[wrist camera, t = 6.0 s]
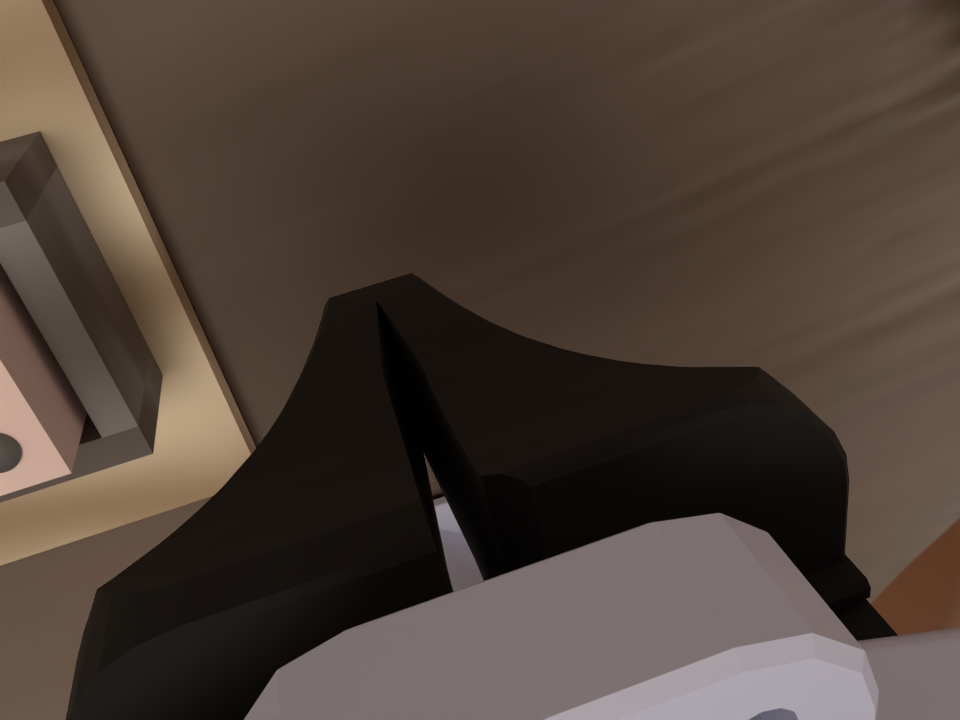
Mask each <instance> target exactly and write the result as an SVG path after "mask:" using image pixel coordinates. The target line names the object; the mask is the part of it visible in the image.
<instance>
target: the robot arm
mask: <svg viewBox="0 0 960 720" xmlns="http://www.w3.org/2000/svg"><path fill="white" fill-rule="evenodd" d="M423 452H424V453H423ZM424 454H425V456H426V458H427V460H428V462H429V465H430V467H431V469H432V471H433V473H434V475H435V477H436V479H437V481H438V483H439V486H440V488H441V490H442V492H443V494H444V497H441V498H438V499H435V500H433V496H432V491H431V487H430V482H429V477H428V472H427V467H426V463H425V458H424ZM848 492H849V475H848V466H847V457H846V453H845V451H844V449H843V447H842V446H841V444H840V442H839V440H838V438H837V436H836V434H835V432H834V431H833V430H832V429H831V428H830V427H828V426H827V425H826V424H825V423H824V422H823V421H822V420H821V419H820V418H819V417H818V416H817V415H815V414H814V413H813V412H812V411H811V410H810V409H809V408H808V407H807V406H806V405H805V404H804V403H803V402H802V401H801V400H800V399H798V398H797V397H796V396H795V395H794V394H793V393H792V392H791V391H789V390H788V389H787V388H786V387H784V386H783V385H782V384H780V383H779V382H778V381H776V380H775V379H774V378H773V377H771V376H770V375H769V374H767V373H766V372H765V371H763V370H762V369H761V368H759V367H674V366H662V365H649V364H639V363H631V362H624V361H617V360H611V359H606V358H601V357H596V356H591V355H585V354H580V353H576V352H572V351H568V350H564V349H561V348H557V347H554V346H551V345H548V344H545V343H542V342H538V341H535V340H532V339H529V338H526V337H524V336H521V335H519V334H516V333H514V332H511V331H509V330H507V329H505V328H502V327H500V326H498V325H496V324H493V323H491V322H489V321H487V320H485V319H483V318H482V317H480V316H478V315H476V314H475V313H473V312H471V311H469V310H467V309H466V308H464V307H462V306H461V305H459V304H457V303H456V302H454V301H452V300H451V299H449V298H448V297H446V296H445V295H443V294H442V293H440V292H439V291H437V290H436V289H434V288H433V287H431V286H430V285H429V284H427V283H426V282H425V281H423V280H422V279H421V278H419V277H417V276H415V275H413V274H412V273H410V274H407V275H403V276H400V277H397V278H394V279H390V280H387V281H384V282H381V283H377V284H374V285H371V286H368V287H364V288H361V289H358V290H354V291H351V292H348V293H345V294H341V295H338V296H335V297H332V298H329V300H328V302H327V303H326V305H325V307H324V311H323V315H322V319H321V323H320V326H319V329H318V332H317V335H316V338H315V341H314V344H313V346H312V349H311V351H310V354H309V356H308V359H307V361H306V364H305V366H304V369H303V371H302V373H301V375H300V377H299V379H298V381H297V383H296V385H295V387H294V389H293V391H292V393H291V395H290V397H289V399H288V401H287V403H286V405H285V406H284V408H283V410H282V412H281V413H280V415H279V417H278V418H277V420H276V422H275V423H274V425H273V426H272V427H271V429H270V430H269V432H268V433H267V435H266V436H265V437H264V439H263V440H262V442H261V443H260V444H259V445H258V447H257V448H256V449H255V450H254V452H253V453H252V454H251V455H250V456H249V457H248V458H247V460H246V461H245V462H244V463H243V464H242V465H241V466H240V468H239V469H238V470H237V471H236V472H235V473H234V474H233V476H232V477H231V478H230V479H229V480H228V481H227V482H226V484H225V485H224V486H223V487H222V488H221V489H220V490H219V491H218V492H217V493H216V494H215V495H214V496H213V497H212V498H211V499H210V500H209V501H208V502H207V503H206V504H205V505H204V506H203V507H202V508H201V509H199V510H198V511H197V512H196V513H195V514H194V515H193V516H192V517H191V518H189V519H188V520H187V521H186V522H185V523H184V524H183V525H181V526H180V527H179V528H178V529H177V530H176V531H175V532H173V533H172V534H171V535H170V536H169V537H167V538H166V539H165V540H164V541H162V542H161V543H160V544H159V545H157V546H156V547H155V548H153V549H152V550H151V551H149V552H148V553H147V554H145V555H144V556H143V557H141V558H140V559H139V560H137V561H136V562H134V563H133V564H132V565H130V566H129V567H128V568H126V569H125V570H124V571H122V572H121V573H120V574H118V575H117V576H116V577H114V578H113V579H112V580H110V581H109V582H107V583H106V584H104V585H103V586H101V587H100V588H98V589H97V591H96V595H95V598H94V602H93V605H92V608H91V611H90V614H89V618H88V621H87V624H86V627H85V630H84V633H83V637H82V641H81V645H80V650H79V654H78V658H77V663H76V668H75V673H74V679H73V684H72V689H71V695H70V700H69V706H68V711H67V716H66V720H960V628H955V629H947V630H939V631H931V632H923V633H915V634H908V635H900V636H898V635H897V634H896V633H895V631H894V630H893V629H892V628H891V627H890V626H889V625H888V624H887V622H886V621H885V620H884V619H883V618H882V617H881V616H880V614H879V613H878V612H877V611H876V610H875V609H874V608H873V607H872V605H871V604H870V603H869V602H868V601H867V600H866V598H869V597H870V590H871V587H870V585H869V583H868V580H867V578H866V577H865V576H864V575H863V574H862V573H861V571H860V570H859V569H858V568H857V567H856V566H855V565H854V564H853V563H852V562H851V560H850V559H849V558H848V557H847V556H846V555H845V543H846V526H847V509H848Z"/></svg>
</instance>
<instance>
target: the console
mask: <svg viewBox="0 0 960 720" xmlns="http://www.w3.org/2000/svg"><path fill="white" fill-rule="evenodd" d="M0 263H1V265H2V267H3V268H4V270H5V272H6V273H7V275H8V277H9V279H10V280H11V282H12V284H13V285H14V287H15V289H16V291H17V292H18V294H19V296H20V298H21V299H22V301H23V303H24V304H25V306H26V308H27V310H28V311H29V313H30V315H31V316H32V318H33V320H34V322H35V323H36V325H37V327H38V328H39V330H40V332H41V334H42V335H43V337H44V339H45V340H46V342H47V344H48V346H49V347H50V349H51V351H52V353H53V354H54V356H55V358H56V359H57V361H58V363H59V365H60V366H61V368H62V370H63V371H64V373H65V375H66V377H67V378H68V380H69V382H70V383H71V385H72V387H73V389H74V390H75V392H76V394H77V395H78V397H79V399H80V401H81V402H82V404H83V406H84V408H85V409H86V411H87V415H86V419H85V423H84V427H83V430H82V434H81V438H80V442H79V446H78V450H77V454H76V458H75V462H74V466H73V470H72V473H71V474H68V475H65V476H62V477H58V478H55V479H52V480H49V481H46V482H43V483H40V484H36V485H33V486H30V487H27V488H24V489H21V490H18V491H15V492H11V493H8V494H5V495H2V496H0V565H3V564H6V563H10V562H13V561H16V560H19V559H22V558H25V557H28V556H31V555H34V554H37V553H40V552H43V551H46V550H49V549H52V548H55V547H58V546H61V545H64V544H67V543H70V542H74V541H77V540H80V539H83V538H86V537H89V536H92V535H95V534H98V533H101V532H104V531H107V530H110V529H113V528H116V527H119V526H122V525H125V524H128V523H131V522H134V521H138V520H141V519H144V518H147V517H150V516H153V515H156V514H159V513H162V512H165V511H168V510H171V509H174V508H177V507H180V506H183V505H186V504H189V503H192V502H195V501H198V500H202V499H205V498H208V497H211V496H214V495H215V494H216V493H217V492H218V491H219V490H220V489H221V488H222V487H223V486H224V485H225V484H226V482H227V481H228V480H229V479H230V478H231V477H232V476H233V474H234V473H235V472H236V471H237V470H238V469H239V468H240V466H241V465H242V464H243V463H244V462H245V461H246V460H247V458H248V457H249V456H250V455H251V454H252V453H253V452H254V450H255V449H256V446H255V444H254V442H253V440H252V438H251V435H250V433H249V431H248V429H247V427H246V424H245V422H244V420H243V418H242V416H241V413H240V411H239V409H238V407H237V404H236V402H235V400H234V398H233V396H232V393H231V391H230V389H229V387H228V385H227V382H226V380H225V378H224V376H223V374H222V371H221V369H220V367H219V365H218V363H217V360H216V358H215V356H214V354H213V352H212V349H211V347H210V345H209V343H208V341H207V338H206V336H205V334H204V332H203V330H202V327H201V325H200V323H199V321H198V319H197V316H196V314H195V312H194V310H193V308H192V305H191V303H190V301H189V299H188V297H187V294H186V292H185V290H184V288H183V286H182V283H181V281H180V279H179V277H178V275H177V272H176V270H175V268H174V266H173V264H172V261H171V259H170V257H169V255H168V253H167V250H166V248H165V246H164V244H163V242H162V239H161V237H160V235H159V233H158V231H157V228H156V226H155V224H154V222H153V220H152V217H151V215H150V213H149V211H148V208H147V206H146V204H145V202H144V200H143V197H142V195H141V193H140V191H139V189H138V186H137V184H136V182H135V180H134V178H133V175H132V173H131V171H130V169H129V167H128V164H127V162H126V160H125V158H124V156H123V153H122V151H121V149H120V147H119V145H118V142H117V140H116V138H115V136H114V134H113V131H112V129H111V127H110V125H109V123H108V120H107V118H106V116H105V114H104V112H103V109H102V107H101V105H100V103H99V101H98V98H97V96H96V94H95V92H94V90H93V87H92V85H91V83H90V81H89V79H88V76H87V74H86V72H85V70H84V68H83V65H82V63H81V61H80V59H79V57H78V54H77V52H76V50H75V48H74V46H73V43H72V41H71V39H70V37H69V35H68V32H67V30H66V28H65V26H64V24H63V21H62V19H61V17H60V15H59V13H58V10H57V8H56V6H55V4H54V1H53V0H0Z"/></svg>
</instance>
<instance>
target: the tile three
mask: <svg viewBox="0 0 960 720" xmlns="http://www.w3.org/2000/svg"><path fill="white" fill-rule="evenodd" d="M86 415H87V411H86V409H85V408H84V406H83V404H82V402H81V401H80V399H79V397H78V395H77V394H76V392H75V390H74V389H73V387H72V385H71V383H70V382H69V380H68V378H67V377H66V375H65V373H64V371H63V370H62V368H61V366H60V365H59V363H58V361H57V359H56V358H55V356H54V354H53V353H52V351H51V349H50V347H49V346H48V344H47V342H46V340H45V339H44V337H43V335H42V334H41V332H40V330H39V328H38V327H37V325H36V323H35V322H34V320H33V318H32V316H31V315H30V313H29V311H28V310H27V308H26V306H25V304H24V303H23V301H22V299H21V298H20V296H19V294H18V292H17V291H16V289H15V287H14V285H13V284H12V282H11V280H10V279H9V277H8V275H7V273H6V272H5V270H4V268H3V267H2V265H1V263H0V496H2V495H5V494H8V493H11V492H15V491H18V490H21V489H24V488H27V487H30V486H33V485H36V484H40V483H43V482H46V481H49V480H52V479H55V478H58V477H62V476H65V475H68V474H71V473H72V470H73V466H74V462H75V458H76V454H77V450H78V446H79V442H80V438H81V434H82V430H83V427H84V423H85V419H86Z"/></svg>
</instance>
